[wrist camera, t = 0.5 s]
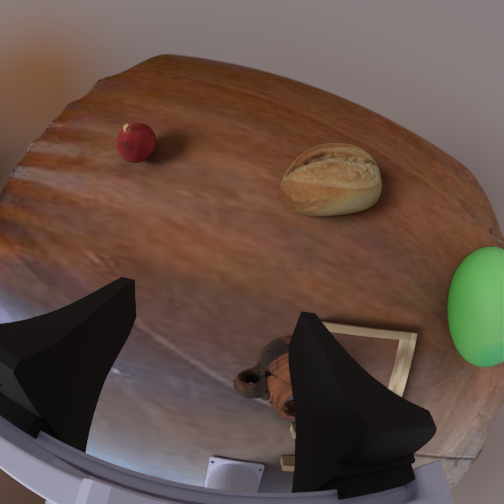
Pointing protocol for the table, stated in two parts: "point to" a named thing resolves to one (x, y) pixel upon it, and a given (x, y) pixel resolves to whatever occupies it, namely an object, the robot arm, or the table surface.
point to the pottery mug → (270, 378)
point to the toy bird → (478, 307)
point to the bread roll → (331, 181)
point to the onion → (136, 142)
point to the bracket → (399, 369)
